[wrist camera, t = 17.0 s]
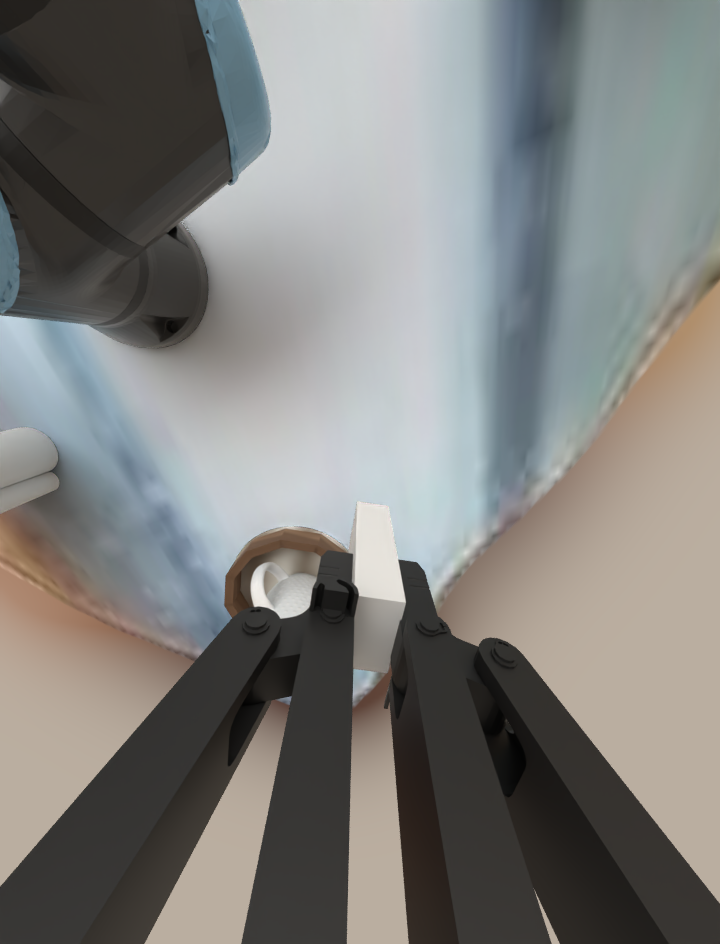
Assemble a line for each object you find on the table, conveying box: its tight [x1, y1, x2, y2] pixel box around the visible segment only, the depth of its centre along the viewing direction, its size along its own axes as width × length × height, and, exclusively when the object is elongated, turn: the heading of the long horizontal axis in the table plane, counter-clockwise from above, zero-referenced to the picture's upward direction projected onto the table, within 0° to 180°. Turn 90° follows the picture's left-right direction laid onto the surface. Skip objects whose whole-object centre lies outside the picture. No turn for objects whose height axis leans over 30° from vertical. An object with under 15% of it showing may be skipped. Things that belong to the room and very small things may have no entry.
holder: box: [224, 526, 348, 618], centre depth 50 cm, size 20×20×4 cm
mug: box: [251, 562, 317, 619], centre depth 45 cm, size 15×11×13 cm
